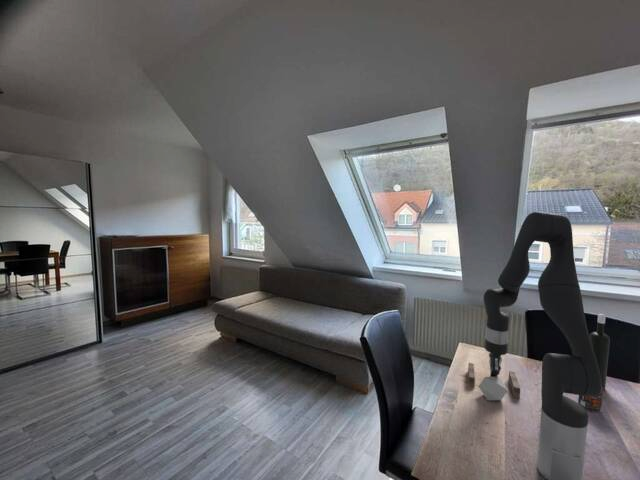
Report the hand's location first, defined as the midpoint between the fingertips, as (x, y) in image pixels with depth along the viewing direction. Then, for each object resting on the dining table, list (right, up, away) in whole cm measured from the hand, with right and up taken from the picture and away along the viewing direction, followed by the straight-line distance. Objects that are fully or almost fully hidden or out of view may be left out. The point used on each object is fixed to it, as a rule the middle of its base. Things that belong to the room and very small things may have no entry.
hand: (493, 380), depth 111 cm
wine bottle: (+43, -4, +3) cm, 43 cm away
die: (-3, -5, -3) cm, 6 cm away
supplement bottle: (+29, -5, -9) cm, 31 cm away
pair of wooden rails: (+2, -4, +5) cm, 7 cm away
